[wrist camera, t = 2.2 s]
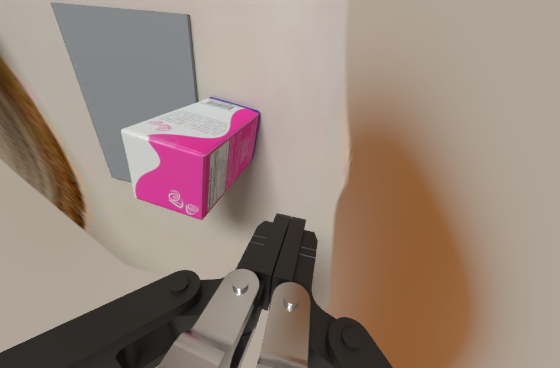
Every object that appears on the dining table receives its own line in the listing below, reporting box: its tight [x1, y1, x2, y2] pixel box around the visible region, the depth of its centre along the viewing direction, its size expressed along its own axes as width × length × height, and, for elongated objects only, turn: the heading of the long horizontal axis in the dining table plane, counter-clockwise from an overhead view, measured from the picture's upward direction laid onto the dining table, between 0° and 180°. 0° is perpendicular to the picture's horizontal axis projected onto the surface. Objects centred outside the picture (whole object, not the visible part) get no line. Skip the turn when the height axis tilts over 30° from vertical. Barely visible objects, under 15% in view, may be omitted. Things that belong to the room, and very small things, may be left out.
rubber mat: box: [51, 3, 198, 182], centre depth 26 cm, size 15×20×1 cm
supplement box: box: [121, 97, 260, 220], centre depth 19 cm, size 6×6×12 cm
